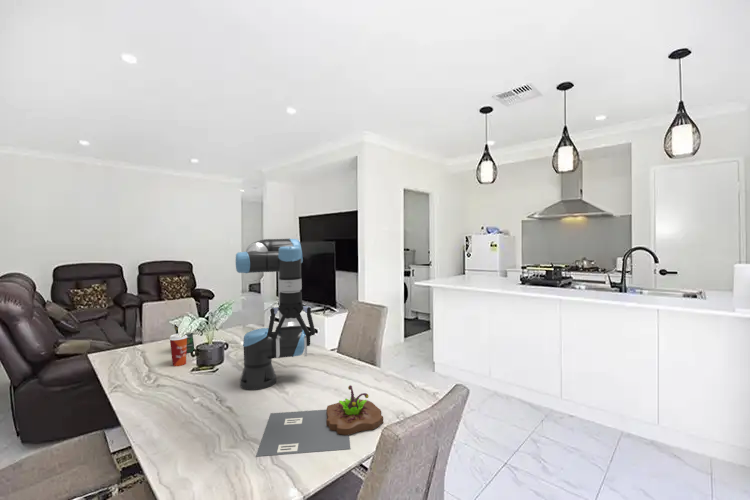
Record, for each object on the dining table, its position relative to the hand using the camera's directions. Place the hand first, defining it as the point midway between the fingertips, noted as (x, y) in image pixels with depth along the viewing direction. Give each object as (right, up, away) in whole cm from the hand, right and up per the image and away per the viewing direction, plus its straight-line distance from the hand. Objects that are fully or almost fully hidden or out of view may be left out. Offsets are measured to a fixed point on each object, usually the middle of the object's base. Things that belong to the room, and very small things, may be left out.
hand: (292, 355), depth 127 cm
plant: (+21, -23, +3) cm, 31 cm away
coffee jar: (-78, -21, +79) cm, 113 cm away
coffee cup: (-71, -22, +59) cm, 95 cm away
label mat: (+6, -24, -4) cm, 25 cm away
